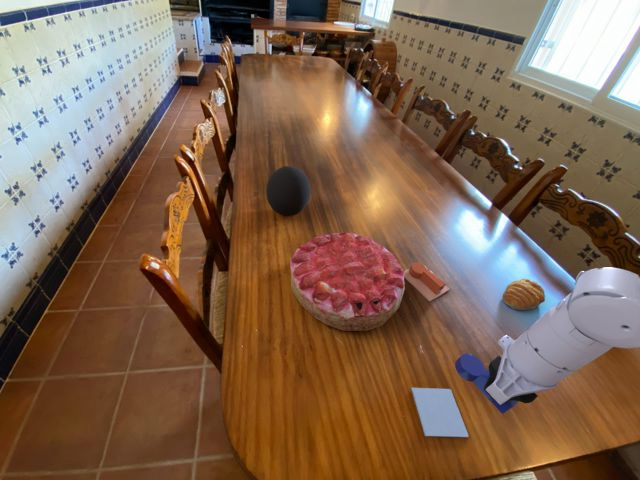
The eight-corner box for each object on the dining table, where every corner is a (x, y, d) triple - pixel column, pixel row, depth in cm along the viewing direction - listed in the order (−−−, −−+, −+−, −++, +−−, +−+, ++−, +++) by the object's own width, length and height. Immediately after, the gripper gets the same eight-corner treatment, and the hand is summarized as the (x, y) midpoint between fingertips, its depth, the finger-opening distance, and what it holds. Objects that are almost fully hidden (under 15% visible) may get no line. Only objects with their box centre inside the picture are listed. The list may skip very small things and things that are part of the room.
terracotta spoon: (443, 290, 69) (448, 282, 67) (433, 296, 67) (438, 288, 65) (415, 265, 74) (419, 257, 72) (405, 270, 73) (409, 262, 71)
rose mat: (449, 290, 69) (449, 289, 69) (429, 302, 67) (430, 301, 66) (419, 264, 75) (419, 263, 75) (399, 273, 72) (400, 272, 72)
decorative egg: (308, 202, 92) (315, 160, 83) (305, 229, 83) (312, 184, 73) (269, 197, 93) (271, 154, 83) (262, 223, 83) (263, 177, 74)
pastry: (521, 319, 65) (531, 309, 62) (492, 296, 69) (501, 285, 67) (543, 302, 69) (553, 292, 66) (514, 281, 73) (523, 271, 71)
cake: (423, 323, 61) (435, 298, 56) (306, 345, 57) (308, 321, 52) (372, 243, 80) (378, 220, 76) (282, 256, 76) (282, 232, 71)
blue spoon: (512, 404, 45) (523, 396, 43) (498, 417, 43) (510, 410, 41) (463, 355, 50) (472, 346, 48) (450, 365, 49) (458, 356, 47)
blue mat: (449, 389, 52) (450, 388, 52) (468, 437, 47) (469, 437, 47) (411, 388, 52) (411, 387, 52) (424, 436, 47) (425, 435, 46)
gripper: (548, 298, 41) (498, 345, 50) (488, 344, 35) (442, 389, 44) (608, 341, 37) (541, 385, 46) (550, 403, 31) (486, 440, 40)
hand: (495, 390), depth 45 cm, fingers closed on blue spoon, 2 cm apart
